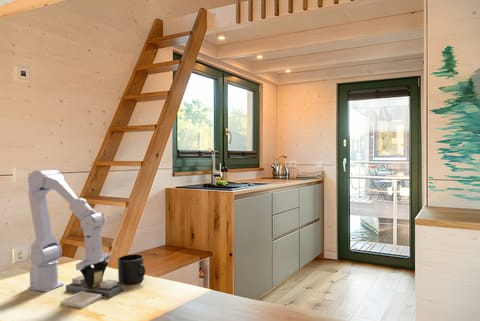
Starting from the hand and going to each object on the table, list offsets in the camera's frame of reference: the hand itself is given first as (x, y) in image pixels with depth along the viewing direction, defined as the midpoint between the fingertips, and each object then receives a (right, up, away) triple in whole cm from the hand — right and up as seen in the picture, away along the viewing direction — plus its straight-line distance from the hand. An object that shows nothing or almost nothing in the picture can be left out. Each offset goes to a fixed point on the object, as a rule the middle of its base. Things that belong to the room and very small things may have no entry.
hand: (94, 284), depth 132 cm
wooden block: (0, -2, 0) cm, 2 cm away
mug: (+11, -2, +9) cm, 15 cm away
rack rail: (0, -2, 0) cm, 2 cm away
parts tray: (-1, -3, -9) cm, 10 cm away
